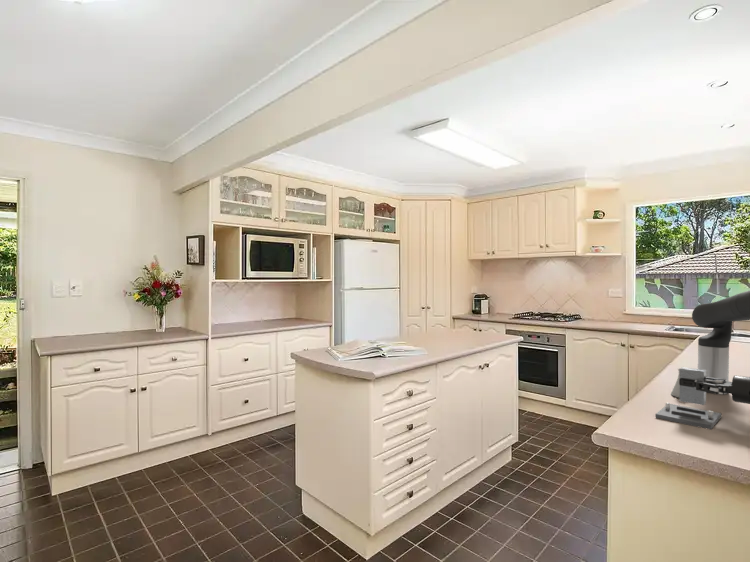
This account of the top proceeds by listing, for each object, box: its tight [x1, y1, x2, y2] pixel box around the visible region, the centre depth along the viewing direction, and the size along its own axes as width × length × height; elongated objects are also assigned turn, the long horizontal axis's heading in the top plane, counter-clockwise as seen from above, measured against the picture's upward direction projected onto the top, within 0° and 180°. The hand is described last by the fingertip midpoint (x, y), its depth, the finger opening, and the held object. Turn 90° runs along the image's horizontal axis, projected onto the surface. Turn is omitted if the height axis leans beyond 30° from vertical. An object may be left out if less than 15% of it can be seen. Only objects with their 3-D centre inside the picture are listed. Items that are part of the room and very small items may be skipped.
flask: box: [670, 367, 681, 398], centre depth 154 cm, size 7×7×10 cm
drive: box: [678, 366, 707, 406], centre depth 130 cm, size 6×4×10 cm, turn 43°
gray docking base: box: [655, 402, 722, 430], centre depth 131 cm, size 14×16×3 cm
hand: (681, 380), depth 132 cm, fingers closed on drive, 3 cm apart
